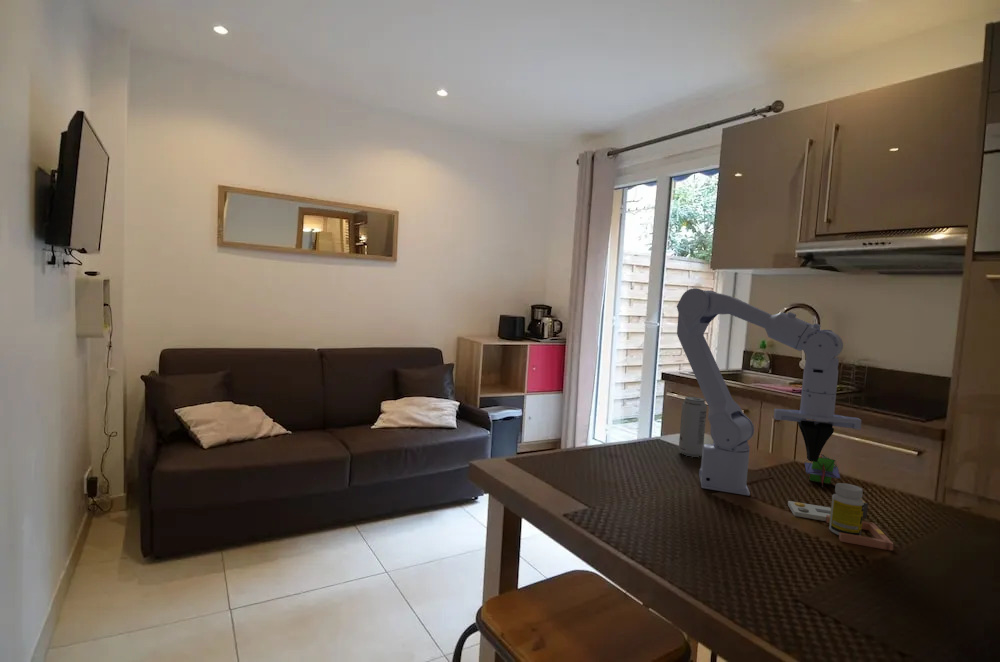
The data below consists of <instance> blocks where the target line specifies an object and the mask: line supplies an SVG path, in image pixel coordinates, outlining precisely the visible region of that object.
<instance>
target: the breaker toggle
mask: <svg viewBox="0 0 1000 662" xmlns="http://www.w3.org/2000/svg"><path fill="white" fill-rule="evenodd" d="M860 499H862V500H863V502H864V509H863V519H865V520H867V516H868V507H869V504H868V503H867V502H866V501H865V500H864V499H863V497H862V498H860Z"/></svg>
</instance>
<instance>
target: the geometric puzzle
mask: <svg viewBox="0 0 1000 662" xmlns="http://www.w3.org/2000/svg"><path fill="white" fill-rule="evenodd" d="M836 463H837V461H836V459H833V458H830V457H829V456H827V455H826V456H825V455H824V454H822V453H820V456H819V458H818V461H817V462H813V461H810V462H807V460H806V461H804V468H805V474H806V475H807V478H809V479H808V481H811V482H816V484H817V485H820V483H821V487H822V488H824V487H826V486H827V485H828V486H829V485H831V484H832V483H834V481H833V479H837V480H835V482H837V481H839V480H841V479H842V478H841V475H840V472H839V471H840V470H839V467H838V465H837V464H836ZM824 484H825V485H824Z"/></svg>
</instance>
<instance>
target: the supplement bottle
mask: <svg viewBox="0 0 1000 662" xmlns="http://www.w3.org/2000/svg"><path fill="white" fill-rule="evenodd" d="M834 487H835V488H834V492H835V493H833V494H832V496H831V504H830V508H831V512H830V522H829V523H828V525H829V526H828V528H829V531H830V532H832V533H833V534H835V535H837V536H839V532H841V533H847V534H853V535H858V536H862V530H863V529H862V520H863V519H864V518H863V509H864V502H863V500H864V499H863V496H864V495H863V491H864V490H863V488H862V487H861V486H858V485H853V484H850V483H846V482H845V483H844V482H837V483H836V484H835V486H834ZM860 498H862V499H863V500H862V499H860ZM863 521H864V520H863Z"/></svg>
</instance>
